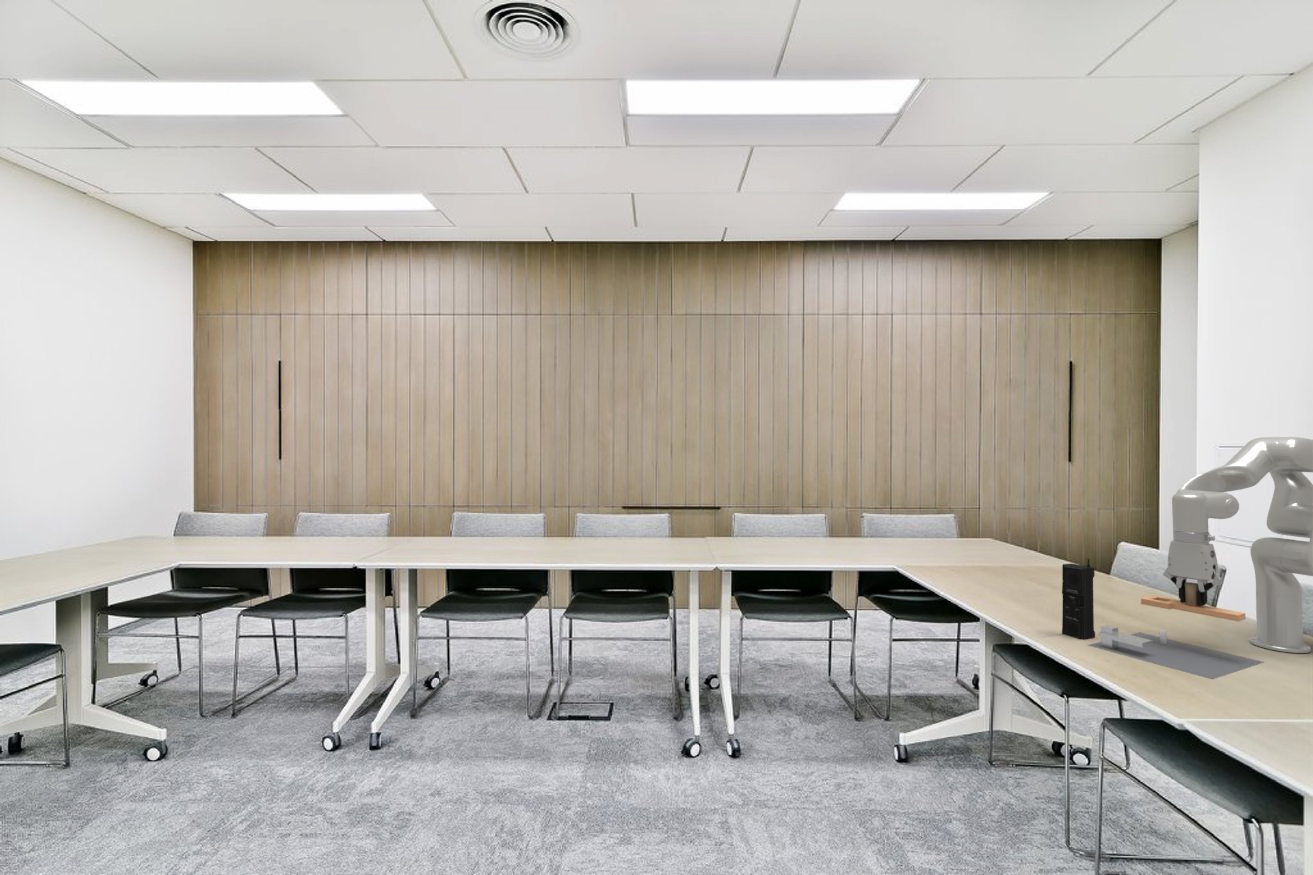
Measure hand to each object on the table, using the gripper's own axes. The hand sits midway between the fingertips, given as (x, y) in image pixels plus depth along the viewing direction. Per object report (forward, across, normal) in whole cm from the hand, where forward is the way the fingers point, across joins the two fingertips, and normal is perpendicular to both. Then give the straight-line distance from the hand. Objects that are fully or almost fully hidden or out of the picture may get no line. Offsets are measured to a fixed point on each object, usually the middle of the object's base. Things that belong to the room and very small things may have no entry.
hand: (1193, 602), depth 172 cm
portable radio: (+15, +24, +13) cm, 31 cm away
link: (+2, 0, 0) cm, 2 cm away
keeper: (+15, +9, +16) cm, 24 cm away
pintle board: (+15, +2, +7) cm, 17 cm away
